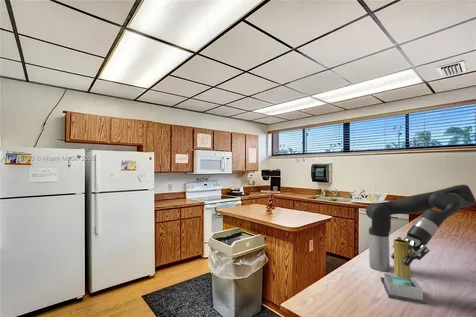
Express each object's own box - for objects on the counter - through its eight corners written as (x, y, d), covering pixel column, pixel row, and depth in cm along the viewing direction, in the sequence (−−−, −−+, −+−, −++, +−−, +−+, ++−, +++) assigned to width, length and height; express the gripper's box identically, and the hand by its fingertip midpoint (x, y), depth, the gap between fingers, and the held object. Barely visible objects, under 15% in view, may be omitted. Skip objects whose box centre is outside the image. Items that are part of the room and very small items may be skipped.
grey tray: (380, 279, 111) (380, 268, 111) (411, 284, 106) (410, 272, 107) (388, 297, 95) (388, 284, 95) (425, 303, 91) (424, 290, 91)
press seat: (389, 280, 103) (389, 278, 103) (409, 283, 101) (409, 281, 101) (393, 288, 97) (393, 285, 97) (415, 291, 94) (415, 289, 94)
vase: (404, 271, 102) (402, 238, 103) (415, 278, 96) (413, 242, 96) (390, 272, 102) (389, 238, 102) (400, 279, 96) (399, 243, 96)
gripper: (445, 242, 94) (420, 275, 92) (413, 232, 108) (391, 260, 106) (432, 229, 94) (407, 262, 91) (402, 221, 108) (380, 249, 106)
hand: (398, 261), depth 99 cm, fingers closed on vase, 5 cm apart
